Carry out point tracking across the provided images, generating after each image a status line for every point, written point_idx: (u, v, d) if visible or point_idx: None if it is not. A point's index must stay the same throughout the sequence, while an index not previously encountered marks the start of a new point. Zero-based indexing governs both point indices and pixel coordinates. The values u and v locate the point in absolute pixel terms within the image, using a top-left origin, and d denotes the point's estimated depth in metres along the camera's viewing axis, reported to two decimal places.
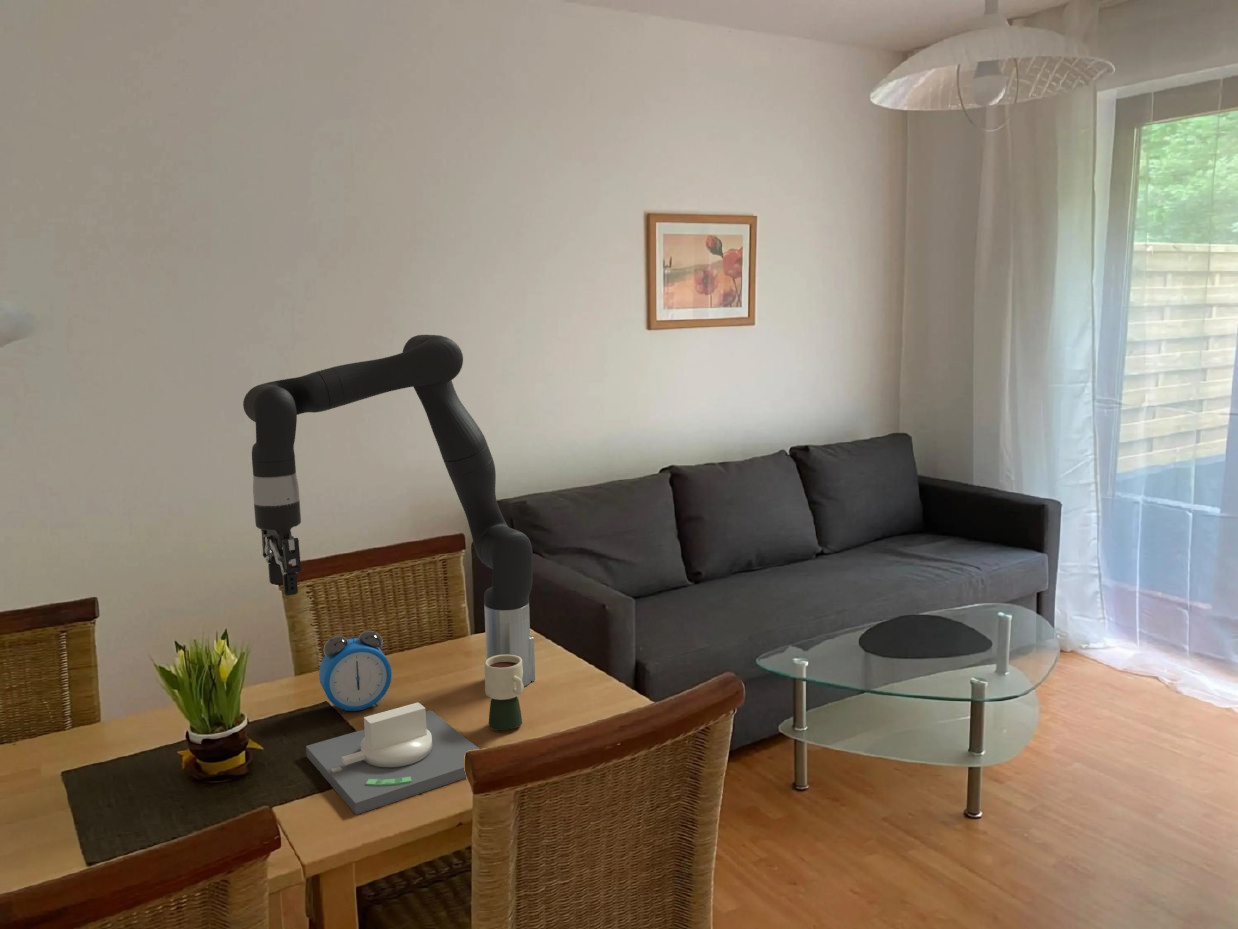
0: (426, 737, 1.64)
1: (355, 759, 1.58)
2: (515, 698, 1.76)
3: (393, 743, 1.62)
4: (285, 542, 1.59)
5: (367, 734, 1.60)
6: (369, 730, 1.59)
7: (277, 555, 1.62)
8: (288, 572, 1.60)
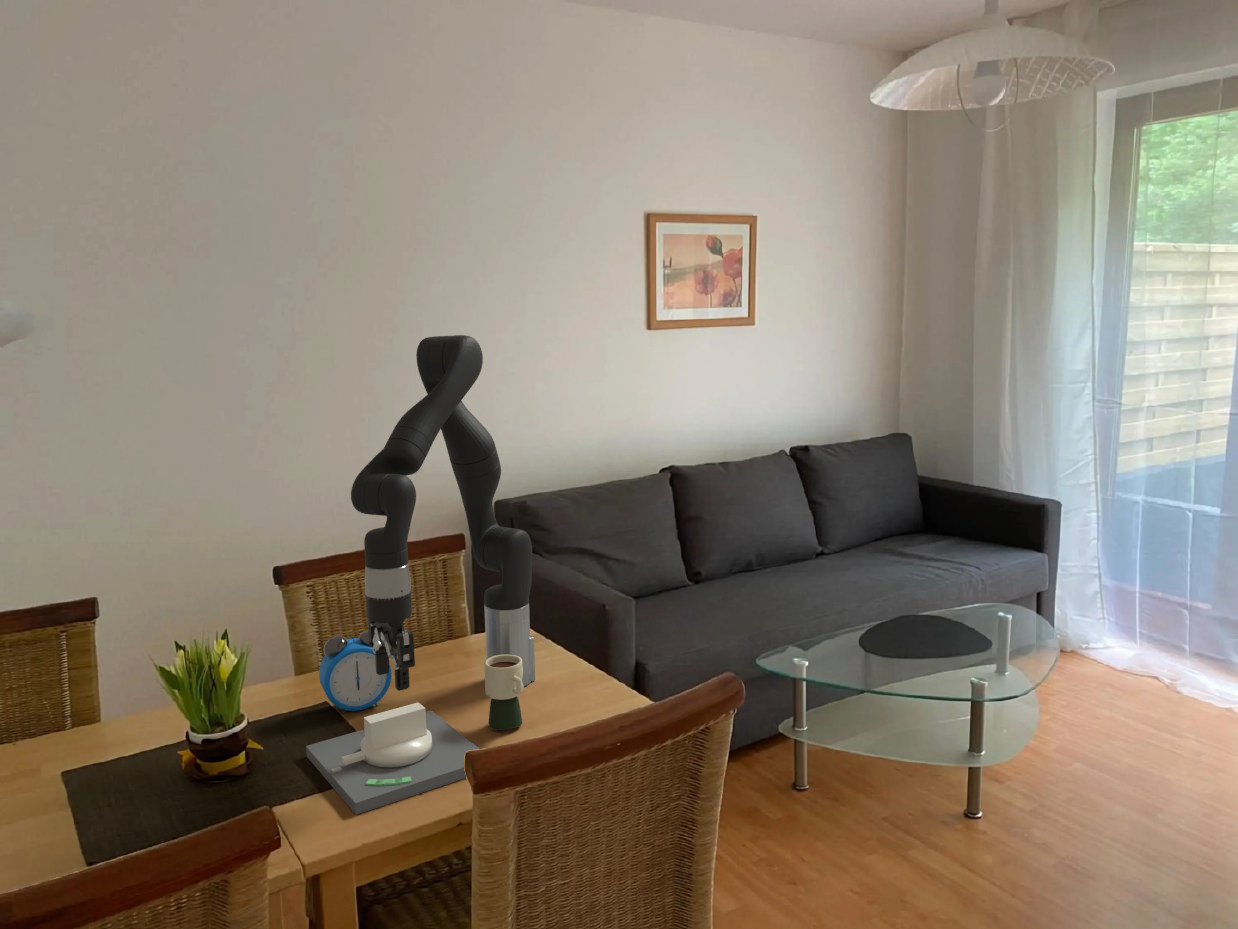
0: (426, 737, 1.64)
1: (355, 759, 1.58)
2: (515, 698, 1.76)
3: (393, 743, 1.62)
4: (400, 637, 1.54)
5: (367, 734, 1.60)
6: (369, 730, 1.59)
7: (389, 649, 1.57)
8: (402, 668, 1.55)
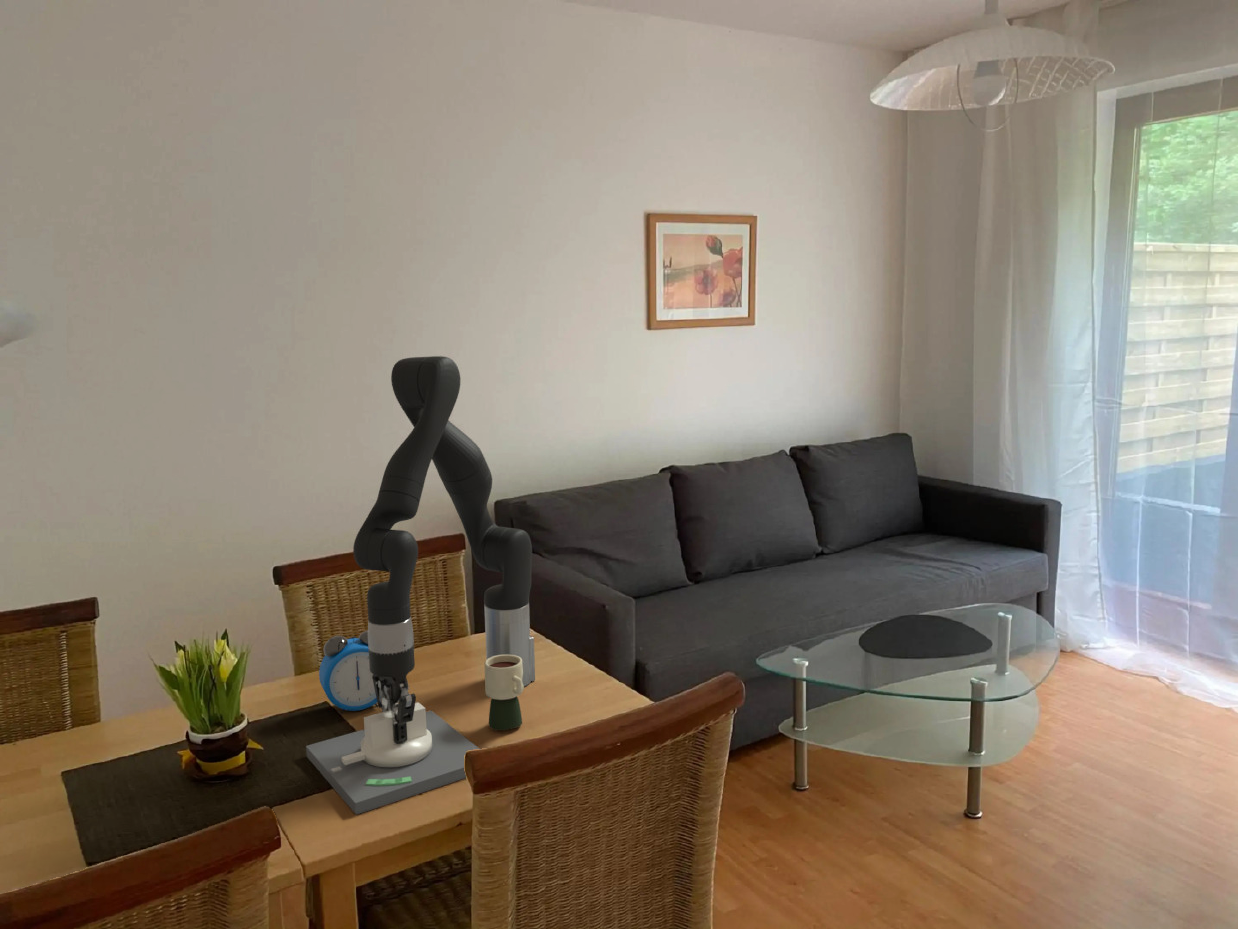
0: (426, 737, 1.64)
1: (355, 759, 1.58)
2: (515, 698, 1.76)
3: (393, 743, 1.62)
4: (403, 701, 1.56)
5: (367, 734, 1.60)
6: (369, 730, 1.59)
7: (391, 705, 1.59)
8: (400, 723, 1.58)
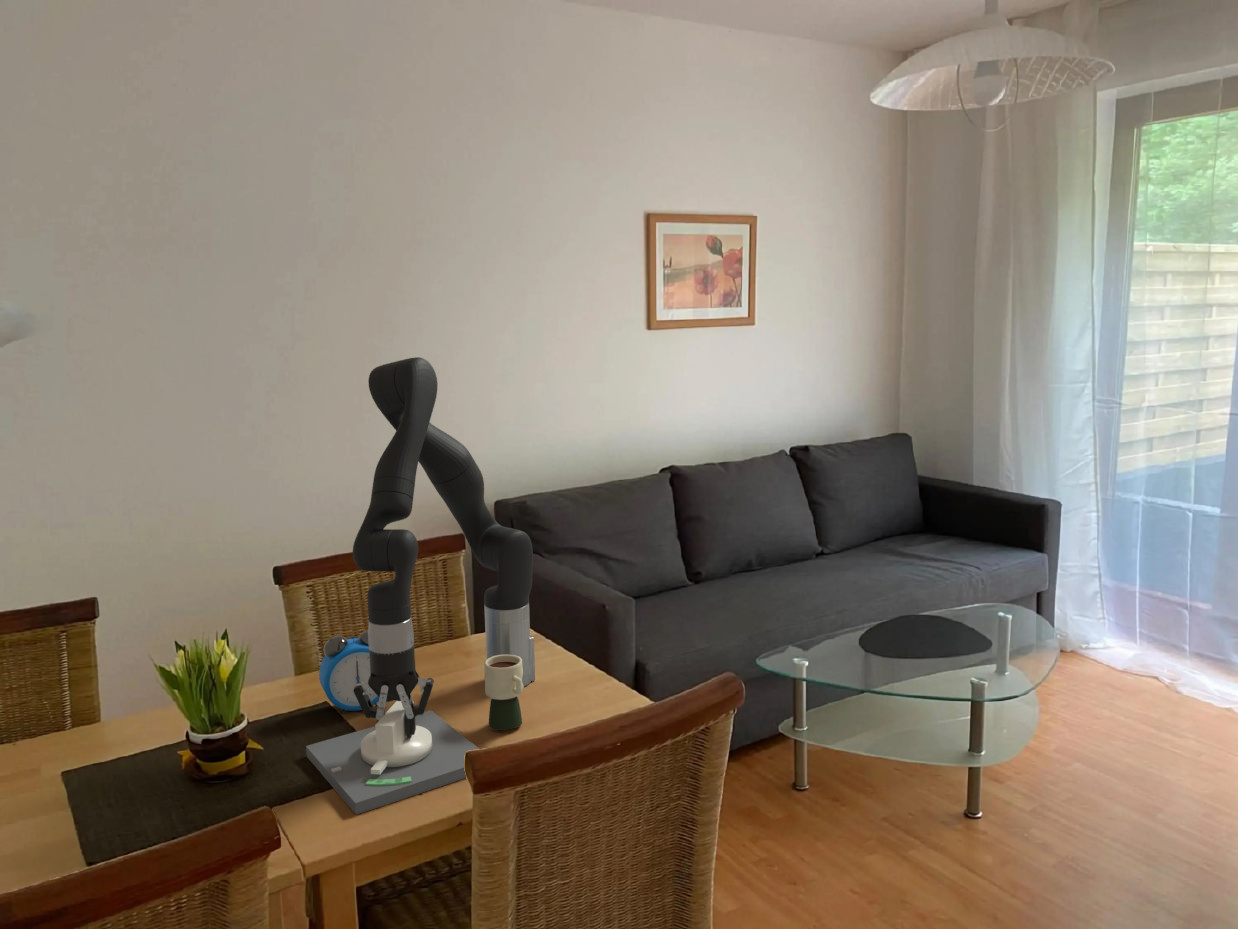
0: (418, 728, 1.68)
1: (384, 766, 1.56)
2: (515, 698, 1.76)
3: (402, 741, 1.62)
4: (432, 686, 1.62)
5: (383, 740, 1.58)
6: (388, 734, 1.58)
7: (408, 700, 1.61)
8: (423, 712, 1.62)
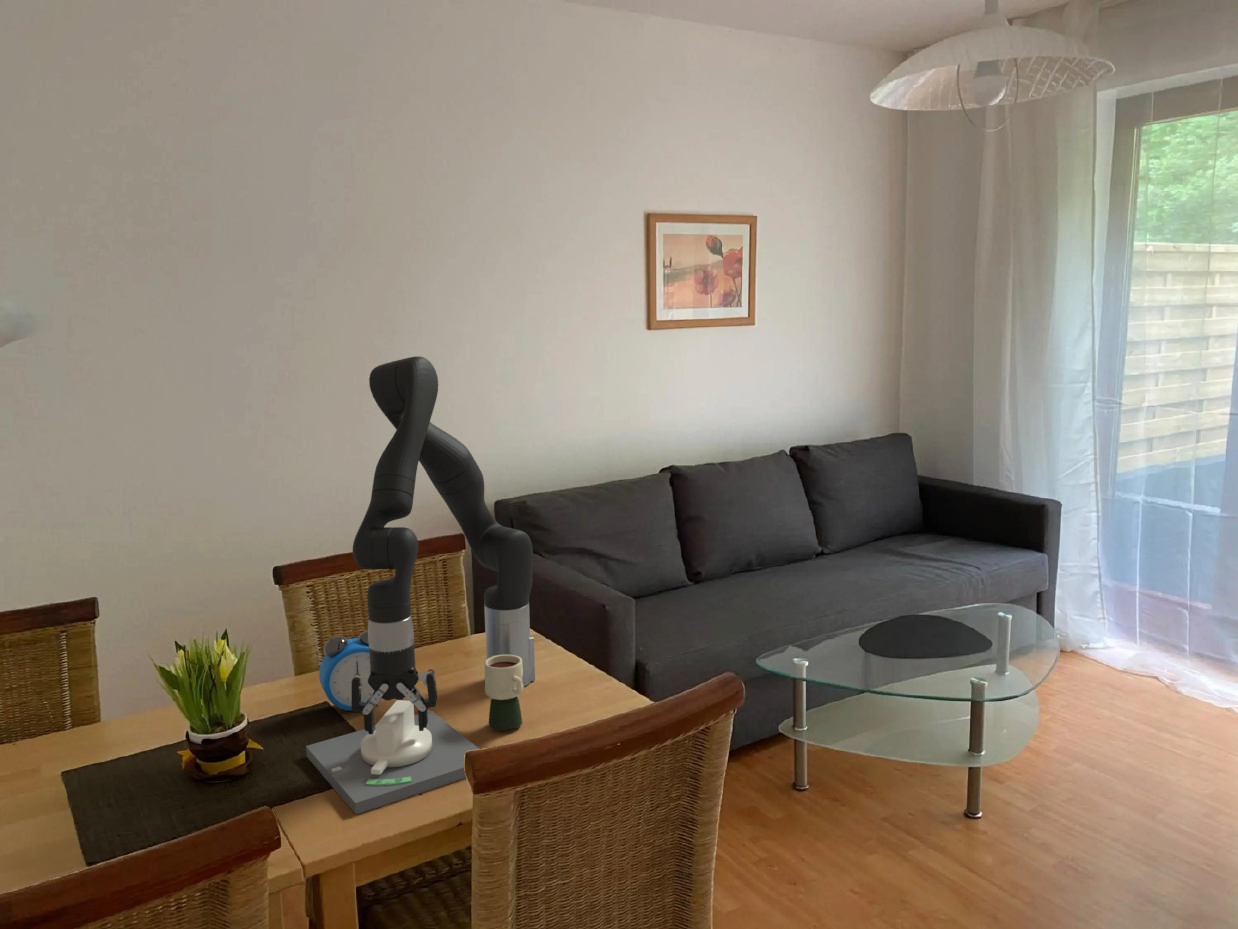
0: (418, 728, 1.68)
1: (384, 766, 1.56)
2: (515, 698, 1.76)
3: (402, 741, 1.62)
4: (433, 676, 1.61)
5: (383, 740, 1.58)
6: (388, 734, 1.58)
7: (413, 694, 1.61)
8: (435, 704, 1.62)
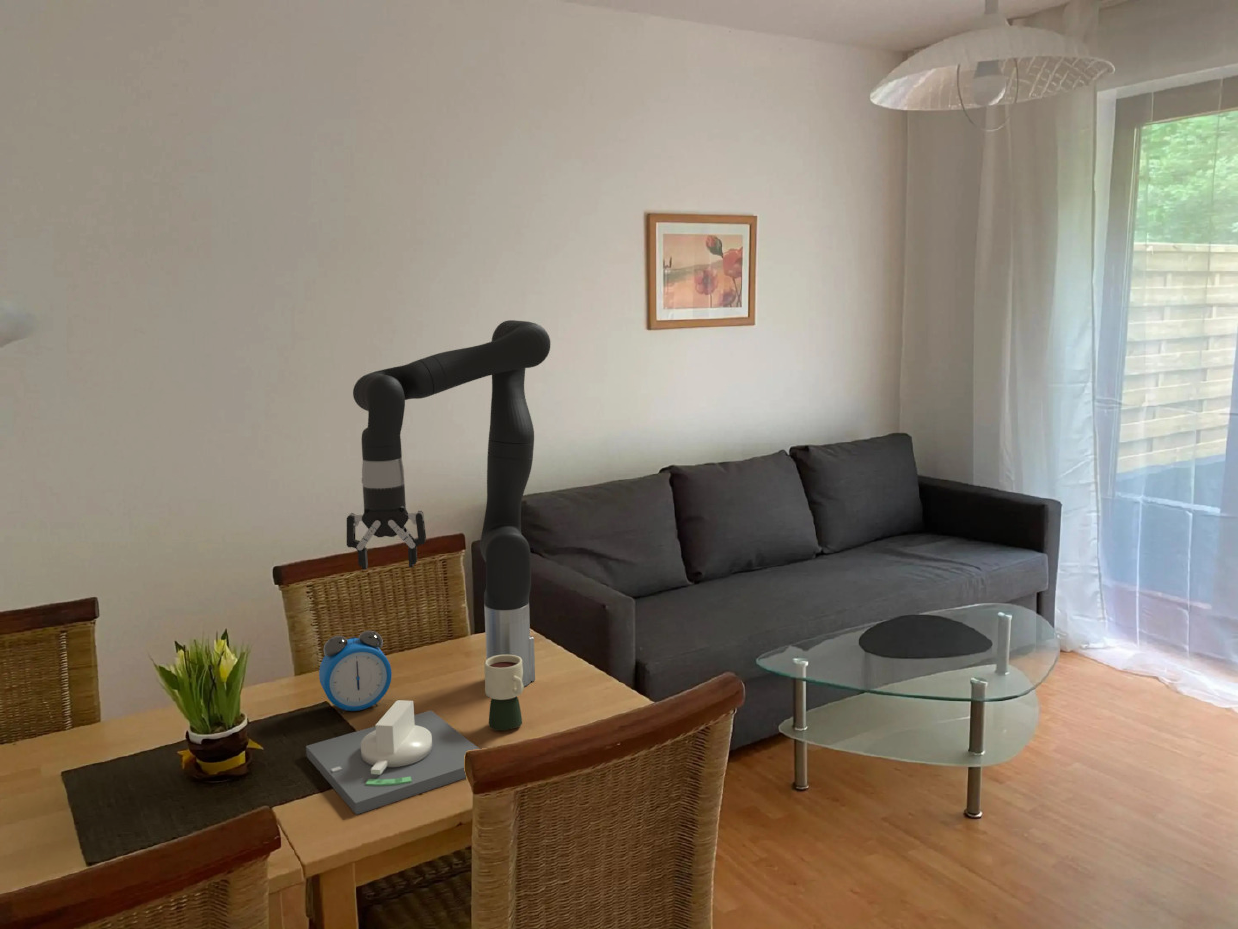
0: (418, 728, 1.68)
1: (384, 766, 1.56)
2: (515, 698, 1.76)
3: (402, 741, 1.62)
4: (422, 515, 1.75)
5: (383, 740, 1.58)
6: (388, 734, 1.58)
7: (403, 531, 1.74)
8: (424, 542, 1.76)
